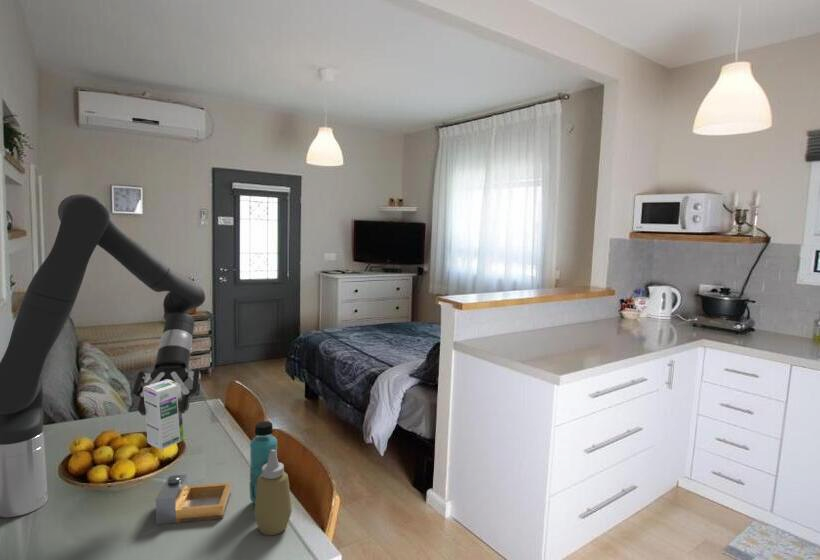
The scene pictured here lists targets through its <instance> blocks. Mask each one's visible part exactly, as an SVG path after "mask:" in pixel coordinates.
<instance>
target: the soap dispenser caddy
mask: <svg viewBox="0 0 820 560" xmlns="http://www.w3.org/2000/svg"><path fill="white" fill-rule="evenodd" d="M231 486H232V484H231V482H223V483H209V484H196V485H188V473H187V474H172V475H168V477H167V479H166V481H165V482H164V484H163V486H162V488H161V489H160V491H159V493H158V494H157V496H156V498H155V519H156V523H155V524H156V525H167V524H168V525H169V524H177V523H190V522H200V521H202V522H203V521H212V520H214V521H215V520H222V519H224V517H225V514H226V511H227V507H228V504H229V501H230V498H231V495H232V492H231V491H232V487H231Z"/></svg>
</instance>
